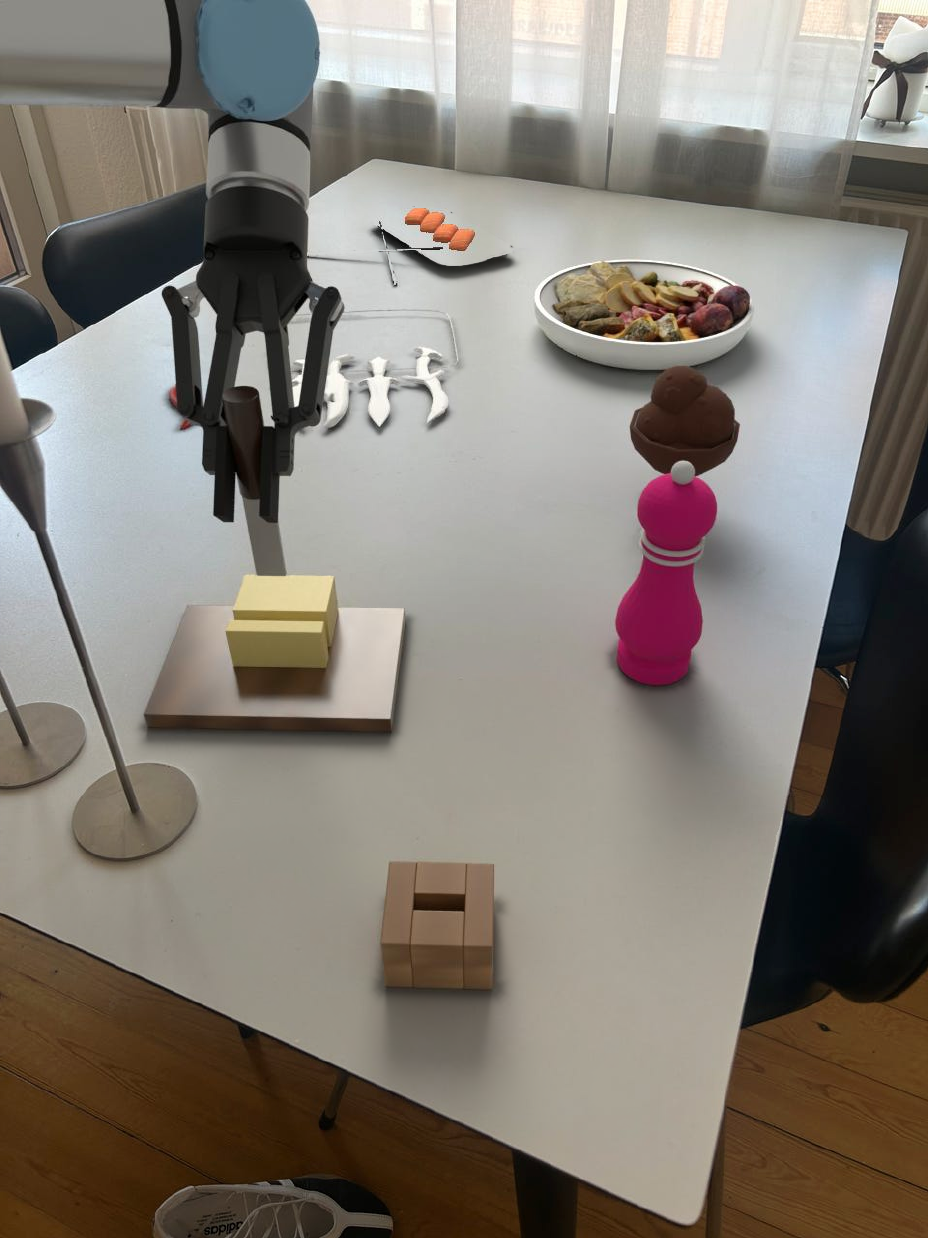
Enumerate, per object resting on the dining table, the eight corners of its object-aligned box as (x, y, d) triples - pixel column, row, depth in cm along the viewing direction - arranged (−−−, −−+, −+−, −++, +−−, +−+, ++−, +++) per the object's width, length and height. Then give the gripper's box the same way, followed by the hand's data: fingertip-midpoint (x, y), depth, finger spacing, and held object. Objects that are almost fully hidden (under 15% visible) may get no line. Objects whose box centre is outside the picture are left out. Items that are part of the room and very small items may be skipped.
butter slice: (232, 666, 82) (224, 631, 79) (236, 654, 83) (228, 619, 80) (326, 668, 82) (321, 632, 79) (328, 656, 83) (324, 620, 80)
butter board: (147, 727, 79) (143, 714, 78) (190, 617, 89) (187, 604, 88) (391, 732, 78) (390, 719, 77) (405, 620, 89) (404, 608, 88)
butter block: (239, 645, 84) (232, 610, 81) (251, 609, 88) (244, 574, 85) (330, 647, 84) (326, 611, 81) (338, 610, 88) (334, 575, 85)
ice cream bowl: (614, 524, 100) (629, 392, 91) (631, 470, 108) (646, 343, 99) (718, 541, 98) (744, 406, 88) (727, 484, 106) (752, 355, 96)
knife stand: (384, 987, 61) (379, 944, 58) (393, 905, 66) (389, 860, 63) (492, 990, 61) (493, 947, 58) (493, 907, 66) (494, 863, 62)
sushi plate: (521, 261, 159) (521, 237, 156) (355, 298, 147) (353, 273, 145) (435, 212, 178) (435, 191, 175) (283, 242, 166) (280, 219, 164)
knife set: (253, 436, 115) (251, 427, 114) (275, 317, 141) (274, 310, 141) (468, 427, 116) (468, 418, 115) (450, 311, 143) (450, 303, 142)
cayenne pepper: (199, 428, 117) (196, 414, 115) (160, 430, 116) (157, 416, 115) (209, 383, 126) (206, 369, 125) (173, 385, 125) (170, 371, 124)
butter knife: (252, 584, 77) (217, 402, 67) (259, 564, 79) (226, 385, 69) (284, 584, 77) (254, 402, 67) (290, 565, 79) (262, 385, 69)
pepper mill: (593, 656, 85) (614, 458, 72) (651, 623, 88) (681, 428, 75) (653, 702, 80) (687, 500, 67) (712, 666, 84) (755, 466, 71)
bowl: (514, 368, 128) (516, 310, 123) (552, 284, 151) (554, 233, 146) (745, 391, 123) (757, 332, 118) (749, 300, 145) (759, 247, 140)
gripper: (369, 231, 75) (361, 529, 73) (170, 231, 76) (157, 527, 74) (355, 179, 68) (345, 510, 66) (135, 180, 68) (119, 507, 66)
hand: (246, 518), depth 70 cm, fingers closed on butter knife, 3 cm apart
